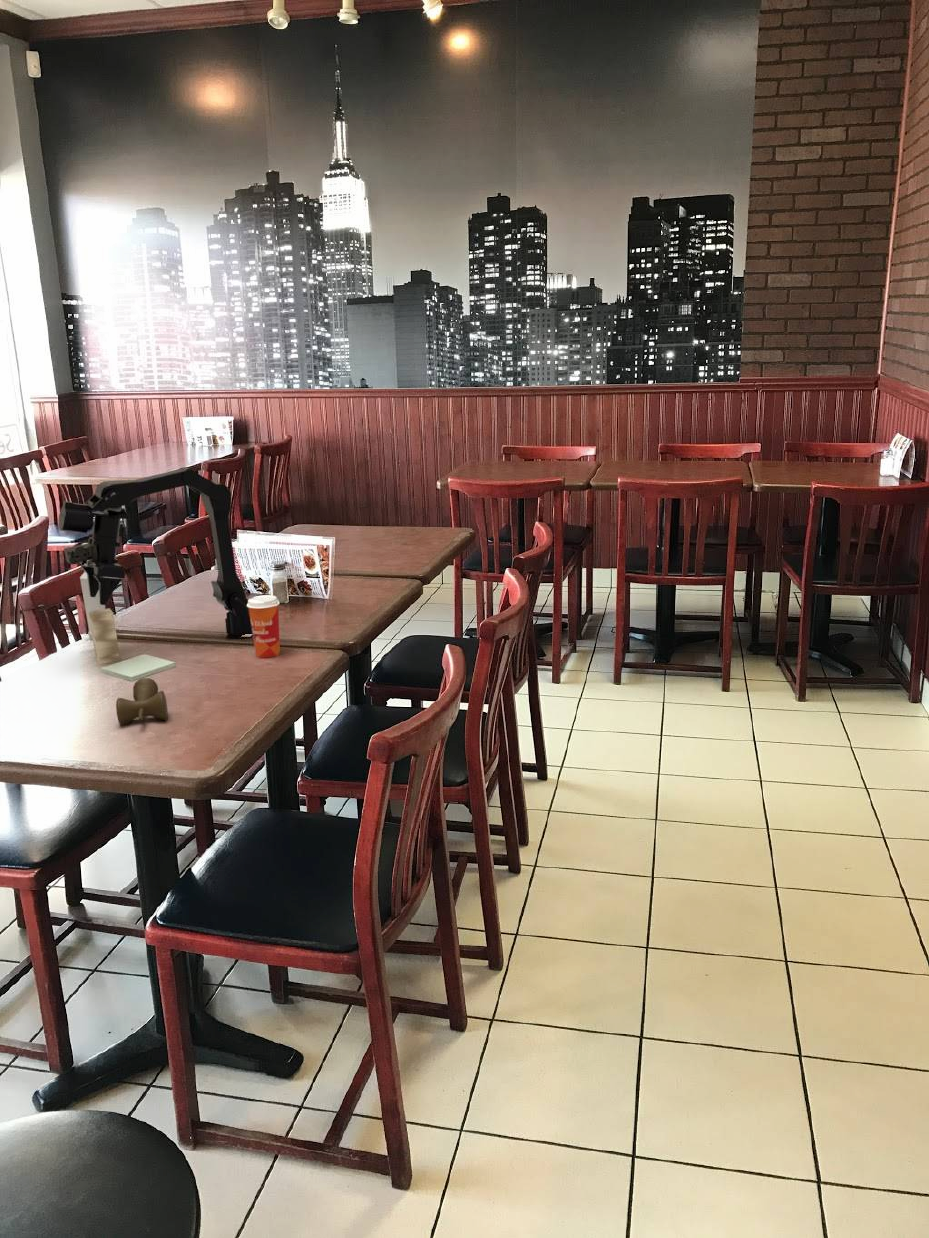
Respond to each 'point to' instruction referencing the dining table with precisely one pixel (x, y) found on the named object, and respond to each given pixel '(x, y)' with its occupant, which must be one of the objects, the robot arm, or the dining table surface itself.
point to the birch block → (104, 636)
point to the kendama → (142, 702)
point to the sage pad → (138, 667)
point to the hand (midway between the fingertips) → (97, 600)
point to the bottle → (89, 600)
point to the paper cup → (265, 625)
